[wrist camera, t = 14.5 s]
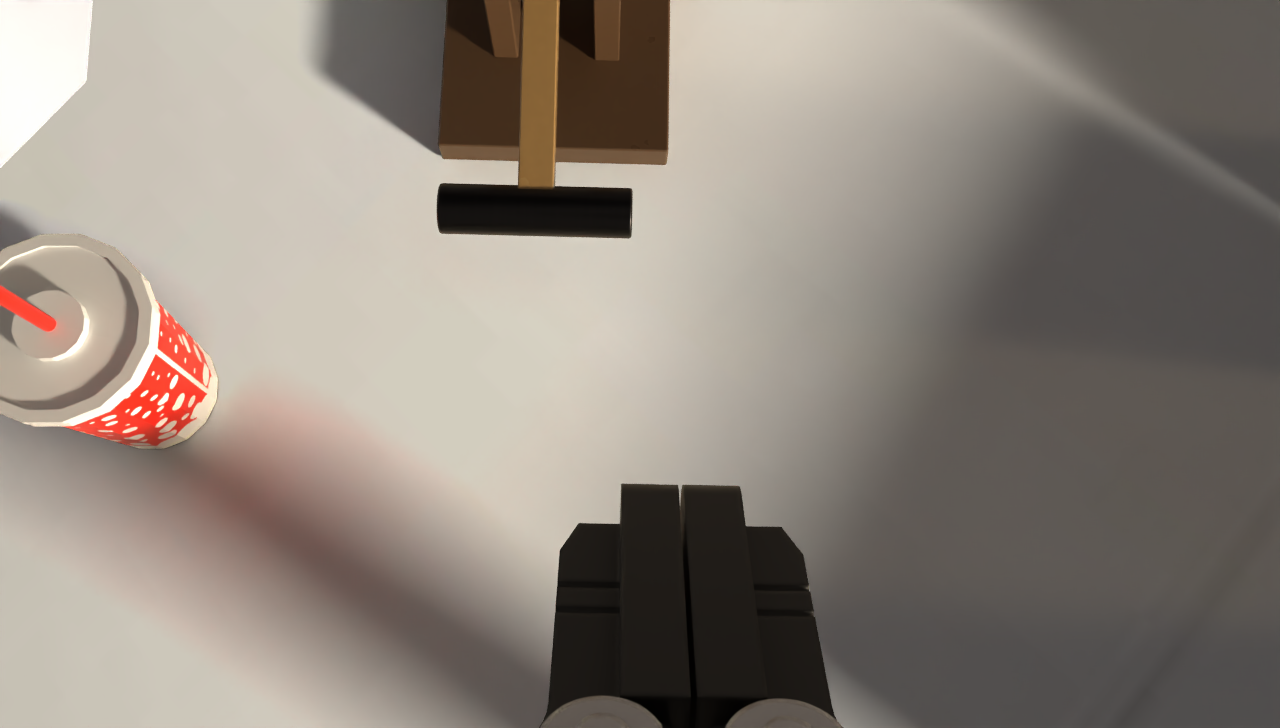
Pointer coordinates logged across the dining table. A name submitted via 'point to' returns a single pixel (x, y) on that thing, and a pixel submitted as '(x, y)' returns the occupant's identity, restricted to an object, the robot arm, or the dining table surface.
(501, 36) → the lever base
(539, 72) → the wooden lever handle
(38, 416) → the beverage cup
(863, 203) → the dining table surface
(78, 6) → the bottle
